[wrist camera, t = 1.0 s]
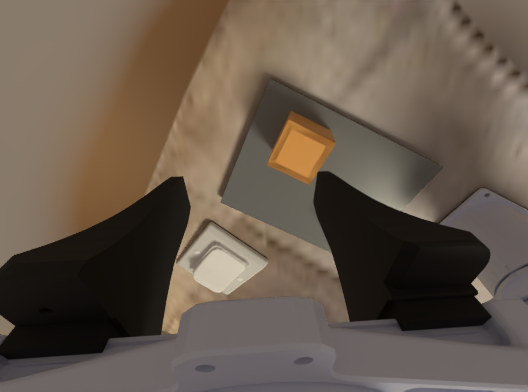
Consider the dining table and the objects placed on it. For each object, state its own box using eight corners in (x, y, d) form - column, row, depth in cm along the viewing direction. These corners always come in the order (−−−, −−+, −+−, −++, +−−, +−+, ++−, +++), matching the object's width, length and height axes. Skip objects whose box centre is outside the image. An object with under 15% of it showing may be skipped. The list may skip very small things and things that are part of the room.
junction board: (438, 163, 24) (442, 167, 23) (350, 256, 32) (351, 261, 32) (270, 78, 23) (269, 78, 22) (222, 198, 31) (220, 202, 30)
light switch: (167, 277, 37) (201, 237, 30) (179, 257, 40) (213, 218, 34) (221, 309, 39) (265, 278, 32) (229, 288, 43) (269, 256, 36)
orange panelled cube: (330, 130, 23) (336, 143, 19) (308, 167, 26) (309, 185, 22) (291, 110, 23) (288, 119, 19) (272, 149, 25) (266, 164, 21)
